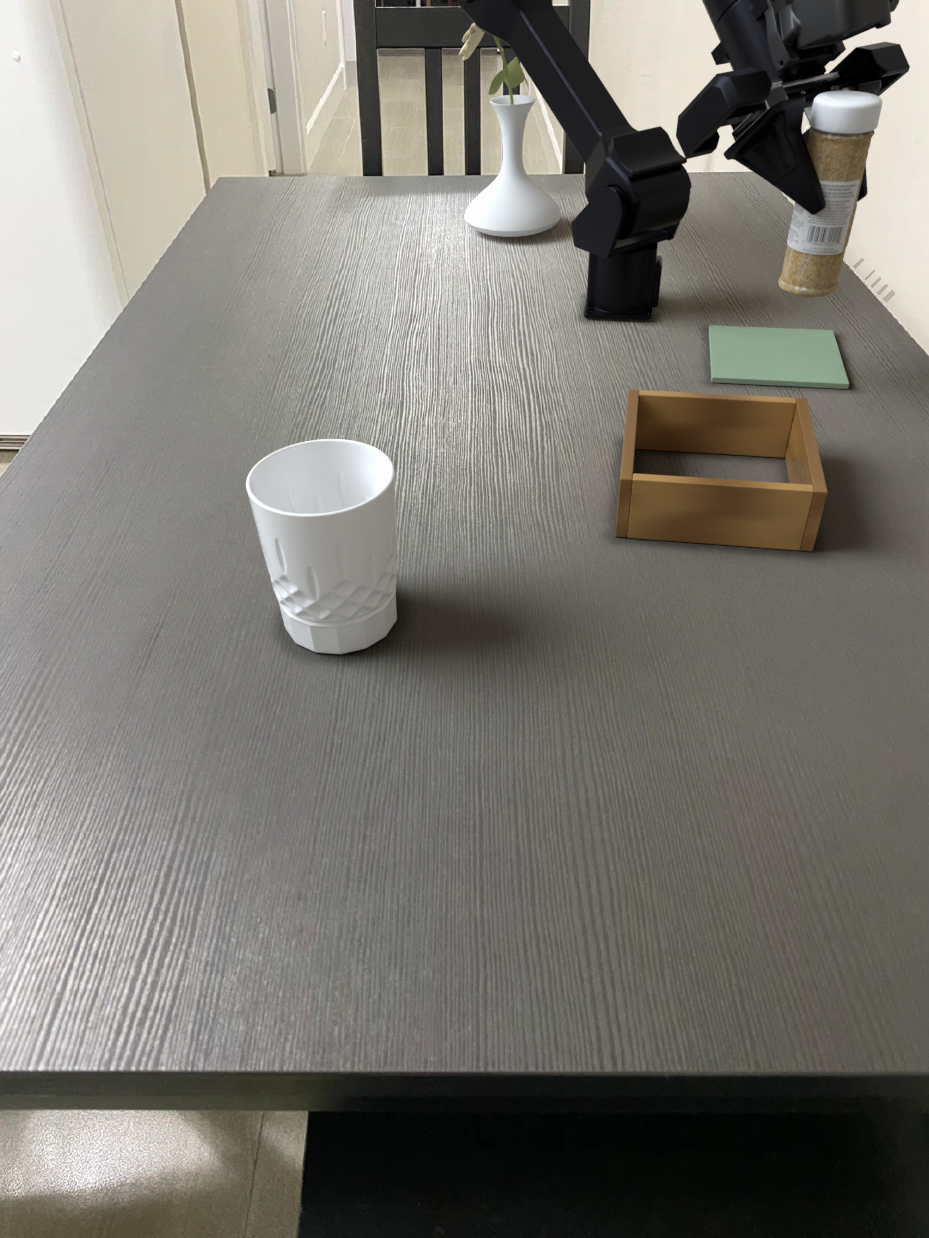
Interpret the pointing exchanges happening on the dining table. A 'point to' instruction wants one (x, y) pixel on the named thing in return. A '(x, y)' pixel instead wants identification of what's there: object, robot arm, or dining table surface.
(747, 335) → the mat
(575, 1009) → the dining table surface
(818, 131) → the sprinkles bottle
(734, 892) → the dining table surface
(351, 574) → the white cup
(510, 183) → the flower in vase
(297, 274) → the dining table surface
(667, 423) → the wooden box
